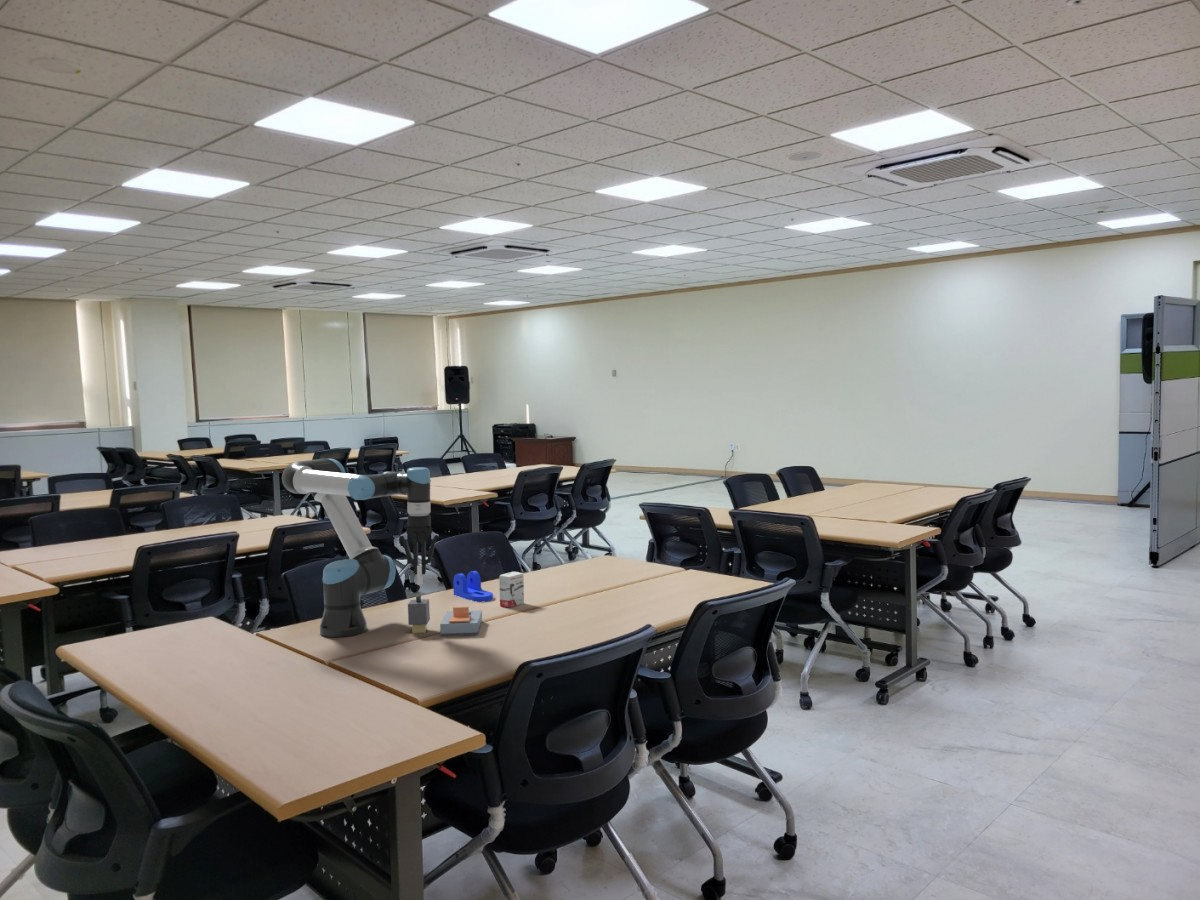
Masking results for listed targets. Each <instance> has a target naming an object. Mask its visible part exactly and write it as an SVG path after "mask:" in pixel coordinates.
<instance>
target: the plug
mask: <svg viewBox="0 0 1200 900" xmlns="http://www.w3.org/2000/svg"><path fill="white" fill-rule="evenodd" d="M407 613H408V614H407V616H408V617H407V618H408V626H411V627H412V634H420V633H421V634H422V633H426V631H427V628H428V627H427V625H428V623H429V622H430V620H431V617H430V616H431V615H430V599H428V598H427V599H426V598H425V599H422V595H420V594H419V595H415V599H410V601H409V602H408V603H407Z"/></svg>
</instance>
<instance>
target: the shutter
mask: <svg viewBox="0 0 1200 900" xmlns="http://www.w3.org/2000/svg"><path fill="white" fill-rule="evenodd" d="M452 611H453V616H451V618H450V620H449V622H469V620H470V618H471V615H469V611H470V610H469V606H453V607H452Z"/></svg>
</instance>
